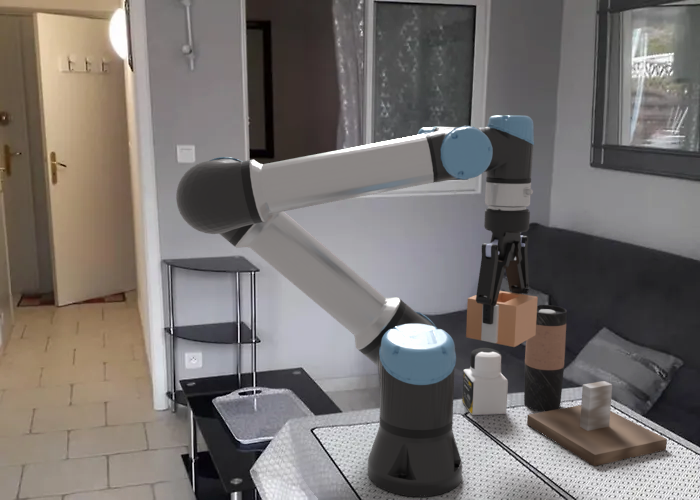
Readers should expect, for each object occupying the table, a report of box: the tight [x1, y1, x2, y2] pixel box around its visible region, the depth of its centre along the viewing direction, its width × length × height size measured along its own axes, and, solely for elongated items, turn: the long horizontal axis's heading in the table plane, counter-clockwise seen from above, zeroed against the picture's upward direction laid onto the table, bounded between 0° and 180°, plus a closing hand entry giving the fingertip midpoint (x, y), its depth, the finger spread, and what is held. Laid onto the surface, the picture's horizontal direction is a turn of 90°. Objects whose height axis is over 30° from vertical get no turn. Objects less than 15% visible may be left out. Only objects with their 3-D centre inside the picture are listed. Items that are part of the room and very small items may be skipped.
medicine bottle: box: [461, 347, 509, 416], centre depth 140 cm, size 7×7×12 cm
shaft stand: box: [526, 380, 668, 467], centre depth 127 cm, size 16×18×10 cm
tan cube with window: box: [465, 290, 538, 348], centre depth 123 cm, size 9×9×7 cm
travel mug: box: [523, 304, 568, 412], centre depth 141 cm, size 8×8×20 cm
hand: (501, 334), depth 124 cm, fingers closed on tan cube with window, 9 cm apart
